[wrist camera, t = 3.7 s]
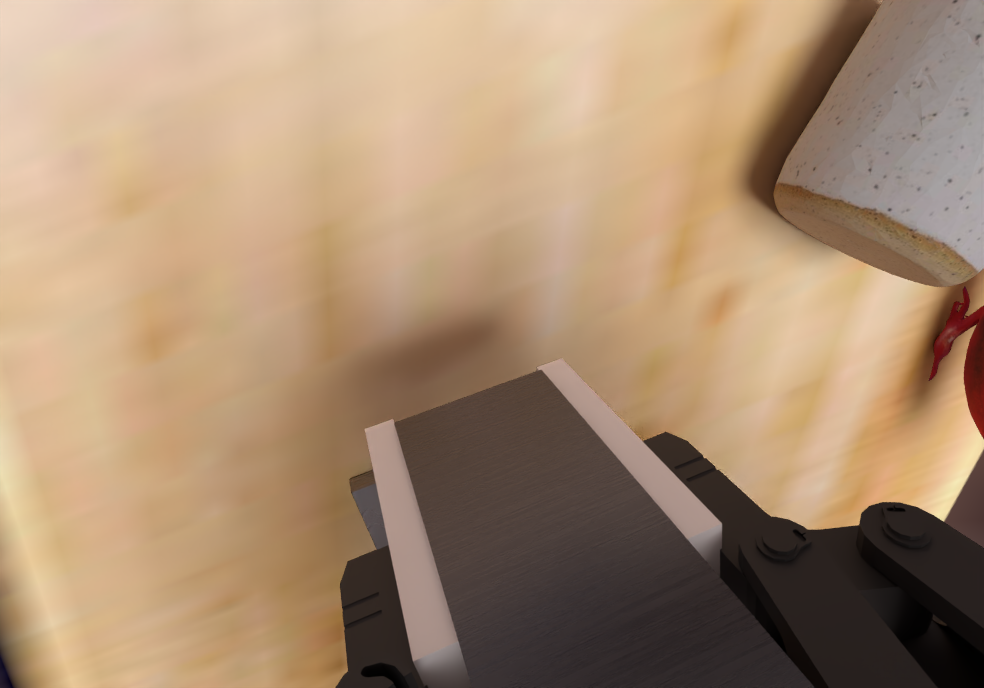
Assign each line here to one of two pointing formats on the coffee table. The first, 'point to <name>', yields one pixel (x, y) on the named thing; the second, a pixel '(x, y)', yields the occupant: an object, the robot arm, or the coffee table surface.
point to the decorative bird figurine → (980, 359)
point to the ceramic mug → (900, 147)
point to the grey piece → (569, 556)
